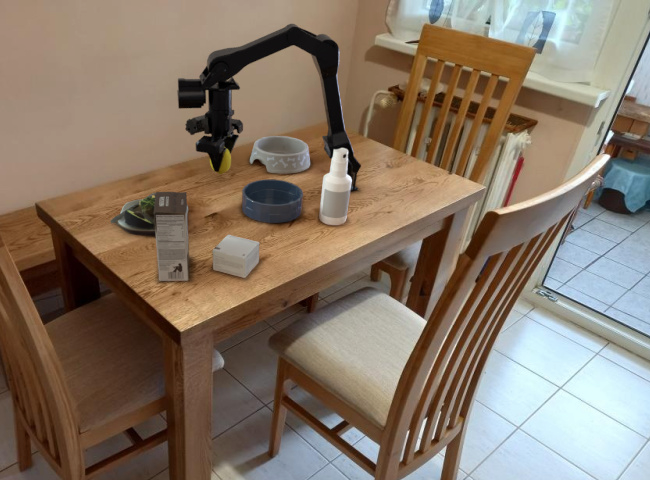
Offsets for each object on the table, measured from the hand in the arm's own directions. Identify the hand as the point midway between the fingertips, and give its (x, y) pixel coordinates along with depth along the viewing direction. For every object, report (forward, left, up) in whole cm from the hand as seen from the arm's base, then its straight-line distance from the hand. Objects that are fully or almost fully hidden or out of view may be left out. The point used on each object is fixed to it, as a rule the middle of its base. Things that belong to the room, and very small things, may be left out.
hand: (220, 167), depth 151 cm
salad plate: (+21, +10, -7) cm, 24 cm away
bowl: (-9, +14, -7) cm, 18 cm away
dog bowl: (-24, -14, -7) cm, 29 cm away
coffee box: (+22, +33, -7) cm, 40 cm away
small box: (+9, +36, -7) cm, 38 cm away
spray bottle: (-21, +24, -7) cm, 33 cm away
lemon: (0, 0, -2) cm, 2 cm away
